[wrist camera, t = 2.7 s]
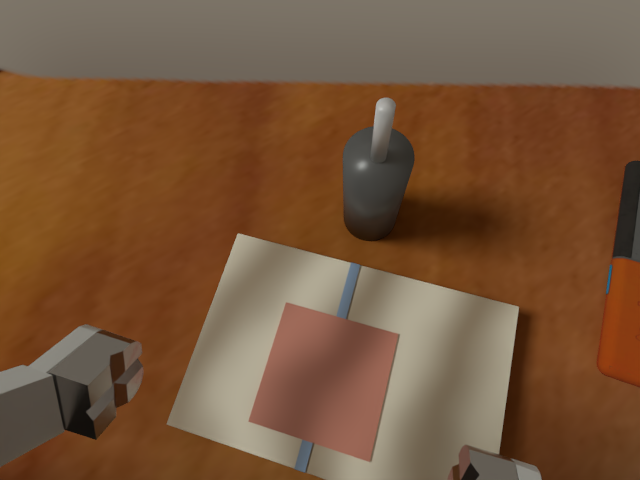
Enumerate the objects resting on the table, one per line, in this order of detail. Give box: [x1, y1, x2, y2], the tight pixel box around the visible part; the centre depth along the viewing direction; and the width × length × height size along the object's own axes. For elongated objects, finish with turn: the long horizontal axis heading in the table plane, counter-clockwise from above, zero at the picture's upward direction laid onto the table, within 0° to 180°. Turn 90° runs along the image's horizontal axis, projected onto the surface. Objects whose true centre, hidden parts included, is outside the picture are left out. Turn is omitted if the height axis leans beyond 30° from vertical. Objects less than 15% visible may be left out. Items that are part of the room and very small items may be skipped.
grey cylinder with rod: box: [343, 98, 414, 241], centre depth 22 cm, size 4×4×12 cm
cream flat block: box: [167, 234, 519, 480], centre depth 24 cm, size 18×12×2 cm, turn 74°
